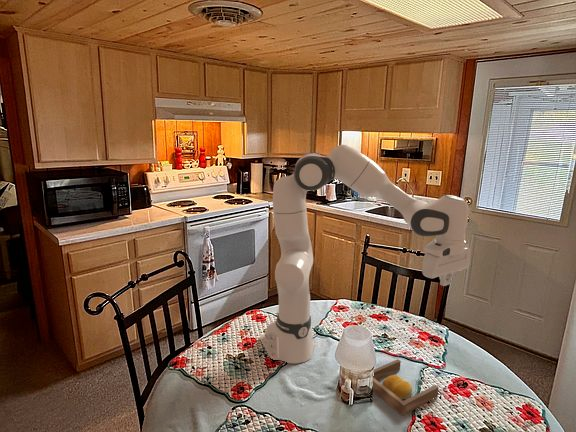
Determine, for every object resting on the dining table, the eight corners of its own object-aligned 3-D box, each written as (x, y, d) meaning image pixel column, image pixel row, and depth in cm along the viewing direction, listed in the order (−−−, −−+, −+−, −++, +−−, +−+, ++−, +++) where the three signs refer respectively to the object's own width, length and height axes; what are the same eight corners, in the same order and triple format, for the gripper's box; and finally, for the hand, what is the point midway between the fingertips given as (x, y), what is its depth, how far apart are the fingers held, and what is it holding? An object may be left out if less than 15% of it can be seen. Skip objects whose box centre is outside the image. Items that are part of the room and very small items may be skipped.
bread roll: (401, 404, 117) (402, 393, 116) (377, 388, 124) (378, 377, 123) (418, 393, 121) (419, 382, 120) (394, 378, 128) (395, 367, 127)
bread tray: (363, 383, 126) (364, 373, 125) (397, 368, 133) (397, 359, 132) (402, 415, 112) (403, 405, 111) (437, 396, 120) (438, 387, 119)
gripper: (460, 237, 135) (456, 275, 138) (420, 247, 124) (416, 287, 128) (477, 242, 129) (472, 281, 133) (437, 253, 119) (432, 295, 122)
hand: (444, 284), depth 130 cm, fingers closed
